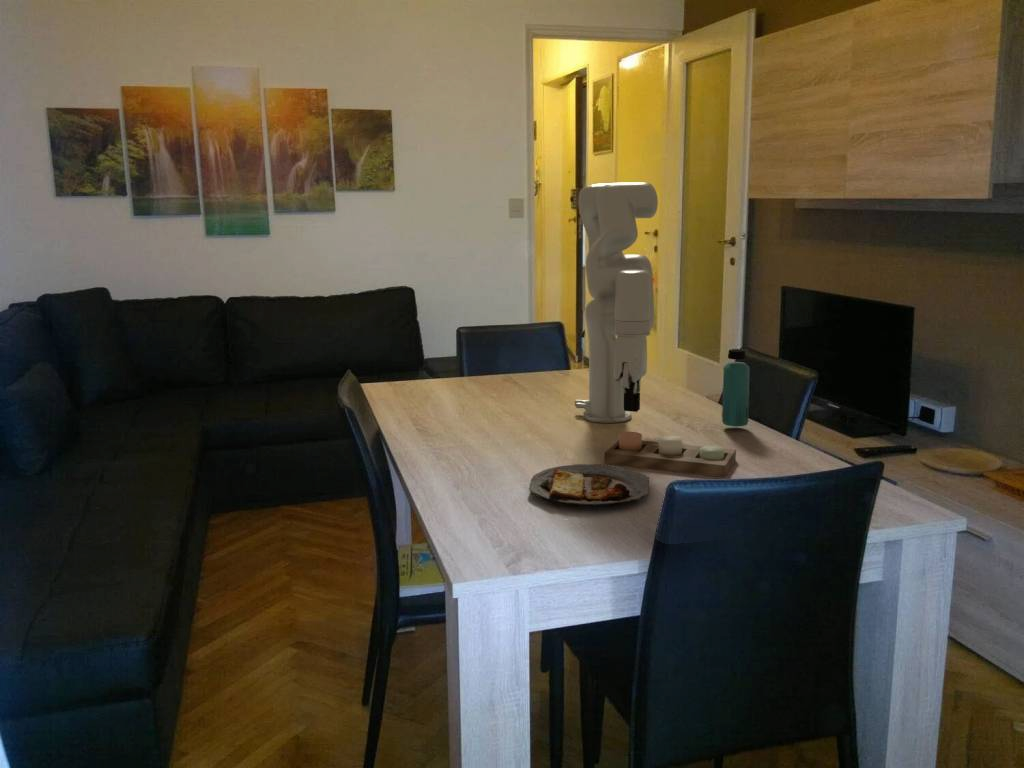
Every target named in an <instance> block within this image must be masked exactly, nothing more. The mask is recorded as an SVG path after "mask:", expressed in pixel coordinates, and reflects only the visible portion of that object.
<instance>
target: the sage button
mask: <svg viewBox="0 0 1024 768" xmlns="http://www.w3.org/2000/svg"><path fill="white" fill-rule="evenodd" d="M724 449H725V448H724ZM724 449H723V447H721V446H717V445H704V447H701V448H700V458H701V459H710V460H720V461H723V460H724Z"/></svg>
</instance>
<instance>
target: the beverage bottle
mask: <svg viewBox="0 0 1024 768" xmlns="http://www.w3.org/2000/svg"><path fill="white" fill-rule="evenodd" d="M727 358H728V359H729V360H745V359H746V350H745V349H741V348H731V349H729V350H728V354H727ZM722 369H723V373H722V375H723V378H722V379H723V380H722V381H723V382H722V383H723V384H722V394H721V395H722V397H721V398H722V399H721V401H722V408H721V421H722V424H723V425H725V426H729V427H745V426H747V425H748V424H749V421H750V420H749V417H750V414H749V410H750V409H749V408H750V406H749V405H750V371H751V370H750V366H749V365H748V364H747V363H745V362H742V361H741V362H740V361H730V362H728V363H726V364H725V365H724V366H723V368H722Z"/></svg>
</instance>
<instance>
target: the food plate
mask: <svg viewBox="0 0 1024 768" xmlns="http://www.w3.org/2000/svg"><path fill="white" fill-rule="evenodd" d="M585 478H591V481H590V483H591V488H590V492H589V493H588V490H587V489H586V488H587V486H586V482H585V481H586V480H585ZM613 480H614V481H616V482H617V481H618V483H615V484H614V487H608V486H609V485H610V484H611V482H613ZM619 482H620V483H619ZM624 484H625V485H624ZM627 486H628V487H629V489H631V493H630V490H629V489H628V487H627ZM649 486H650V477H649V476H648V475H646V474H643V473H641V472H638V471H635V470H631V469H630V468H626V467H621V466H618V465H611V464H602V463H600V464H599V463H596V464H595V463H589V464H585V463H584V464H583V463H577V464H570V465H567V464H566V465H560V466H553V467H550V468H546V469H543V470H542V471H540V472H537V473H535V474H533V476H532V478H531V480H530V483H529V486H528V490H529V492H530V493H531V494H533V496H537V497H539V498H541V499H543V500H546V501H550V502H555V503H557V504H568V505H569V504H570V505H583V506H584V505H585V506H590V507H593V506H597V507H598V506H608V505H609V506H610V505H615V504H628V503H632V502H636V501H639V500H641V497H642V498H645V497H646V496H647V495H648V494H649V491H650V489H649V488H650V487H649Z"/></svg>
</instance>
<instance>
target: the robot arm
mask: <svg viewBox="0 0 1024 768" xmlns="http://www.w3.org/2000/svg"><path fill="white" fill-rule="evenodd" d="M656 190H657V189H655V187H654V185H653V184H651V183H650V182H646V181H644V182H643V181H641V182H639V181H638V182H635V181H634V182H612V183H611V182H610V183H609V182H607V183H594V184H590V185H586V186H583V188H581V189H580V191H579V194H578V210H579V215H580V218H581V222H582V226H583V227H584V231H585V233H586V236H587V240H588V252H587V256H586V260H585V272H586V282H587V289H588V293H589V295H590V297H591V298H592V299H591V300H590V301H589V302H588V303H587V305H586V307H585V313H584V314H585V322H586V328H587V336H588V337H587V338H588V359H589V360H588V367H589V368H588V369H589V370H588V372H589V373H588V377H589V378H588V382H589V383H588V384H589V385H588V387H589V388H588V389H589V390H588V392H589V393H588V394H589V395H588V399H587V398H586V400H583V399H579V398H578V399H577V398H576V399H575V401H574V406H575V408H576V409H584V411H583V413H582V415H583V418H584V419H585V420H587V421H589V422H593V423H600V424H601V423H603V424H604V423H605V424H607V423H609V424H612V423H613V424H614V423H622V422H627V421H629V420H630V419H632V412H633V413H634V412H635V413H636V412H637V413H638V411H640V409H641V392H640V391H641V382H642V381H641V380H642V378H643V377H644V376H646V374H647V369H648V342H647V341H648V340H647V337H648V336H651V331H652V330H653V328H654V324H655V302H654V301H655V299H654V297H655V296H654V278H653V277H654V276H653V267H652V263H651V260H650V259H649V258H648V257H647V256H646V255H643V254H638V253H637V254H624V253H623V251H625V250H627V249H628V248H630V247H631V246H632V245H634V244H635V242H636V241H637V239H638V236H639V235H638V234H639V232H638V231H639V230H638V227H637V222H636V219H651V218H653V217H654V216H655V215H656V214H657V211H658V206H659V205H658V204H659V201H658V195H657V191H656Z"/></svg>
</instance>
